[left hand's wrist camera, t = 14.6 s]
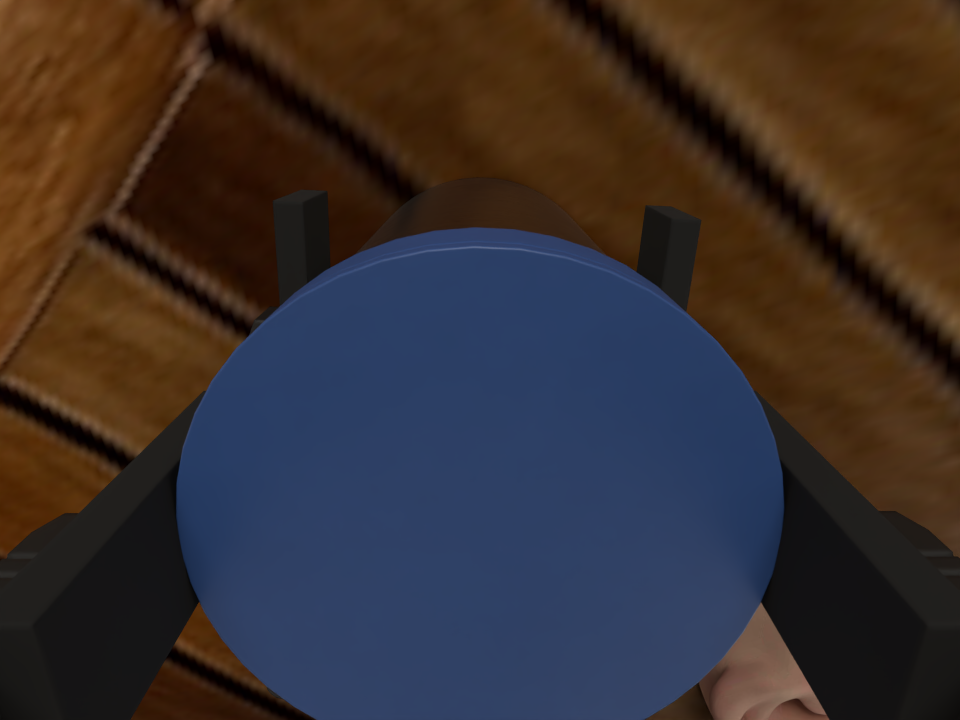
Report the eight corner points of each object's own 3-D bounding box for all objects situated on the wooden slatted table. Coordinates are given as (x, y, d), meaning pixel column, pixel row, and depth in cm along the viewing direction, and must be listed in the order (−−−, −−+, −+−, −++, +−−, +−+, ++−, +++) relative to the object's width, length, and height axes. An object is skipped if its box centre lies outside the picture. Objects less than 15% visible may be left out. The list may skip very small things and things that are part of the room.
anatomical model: (765, 603, 25) (1042, 637, 25) (728, 540, 28) (970, 571, 29) (677, 830, 29) (914, 854, 30) (655, 750, 33) (866, 773, 34)
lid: (121, 318, 11) (59, 352, 9) (698, 150, 10) (740, 155, 8) (327, 727, 14) (308, 803, 13) (774, 630, 13) (814, 700, 12)
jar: (326, 217, 24) (106, 356, 10) (569, 145, 23) (708, 183, 9) (404, 432, 27) (323, 768, 13) (621, 376, 26) (784, 672, 12)
